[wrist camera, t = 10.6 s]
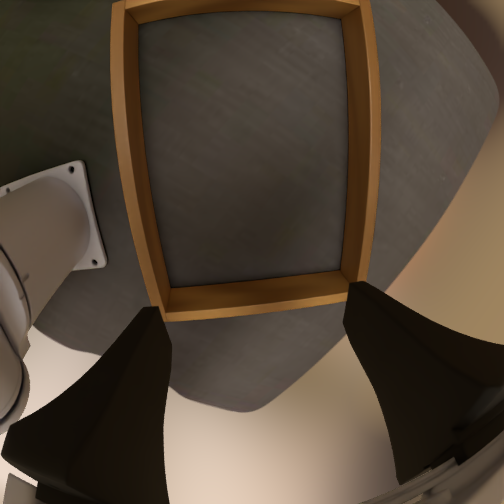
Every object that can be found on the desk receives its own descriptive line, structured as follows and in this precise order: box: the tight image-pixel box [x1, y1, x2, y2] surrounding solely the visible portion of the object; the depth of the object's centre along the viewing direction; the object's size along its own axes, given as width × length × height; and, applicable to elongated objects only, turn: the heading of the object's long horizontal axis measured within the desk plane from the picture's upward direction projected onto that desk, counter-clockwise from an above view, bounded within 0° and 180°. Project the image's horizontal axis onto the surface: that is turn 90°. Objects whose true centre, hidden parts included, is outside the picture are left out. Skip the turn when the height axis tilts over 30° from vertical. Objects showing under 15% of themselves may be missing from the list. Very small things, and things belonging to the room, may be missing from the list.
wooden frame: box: [110, 0, 381, 322], centre depth 15 cm, size 15×21×3 cm
